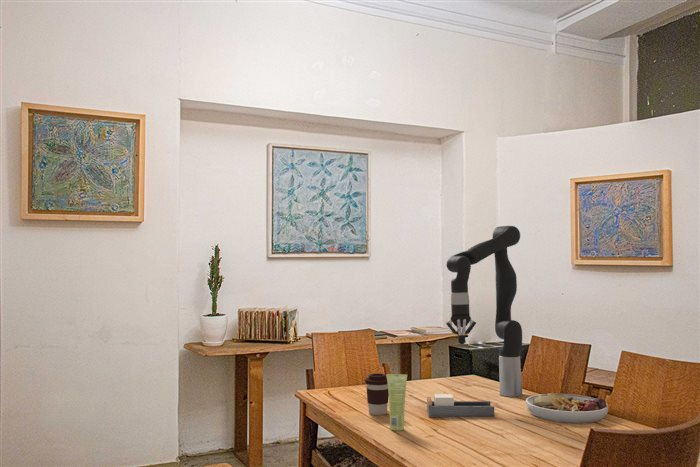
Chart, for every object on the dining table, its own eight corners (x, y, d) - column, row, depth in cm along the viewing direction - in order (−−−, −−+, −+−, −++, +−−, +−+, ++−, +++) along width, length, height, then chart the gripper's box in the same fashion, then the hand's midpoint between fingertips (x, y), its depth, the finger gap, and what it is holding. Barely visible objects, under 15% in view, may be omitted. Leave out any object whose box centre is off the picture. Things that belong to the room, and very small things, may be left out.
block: (452, 409, 236) (451, 394, 237) (454, 413, 230) (453, 397, 231) (434, 409, 237) (434, 394, 237) (435, 413, 231) (435, 397, 231)
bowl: (518, 420, 225) (518, 399, 225) (534, 402, 251) (533, 384, 252) (605, 429, 211) (604, 407, 211) (611, 410, 238) (611, 390, 238)
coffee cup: (388, 416, 231) (388, 377, 231) (363, 415, 233) (363, 376, 233) (392, 410, 240) (391, 372, 241) (367, 409, 242) (367, 372, 243)
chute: (490, 411, 237) (489, 396, 237) (494, 417, 228) (494, 401, 228) (426, 411, 238) (426, 396, 238) (428, 417, 229) (428, 401, 230)
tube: (398, 426, 217) (397, 372, 218) (408, 429, 213) (407, 374, 214) (387, 429, 214) (386, 374, 215) (396, 432, 210) (396, 376, 211)
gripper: (474, 301, 257) (475, 342, 256) (443, 302, 257) (444, 343, 256) (477, 303, 249) (479, 344, 248) (445, 304, 249) (447, 345, 249)
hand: (461, 344), depth 252 cm, fingers closed
